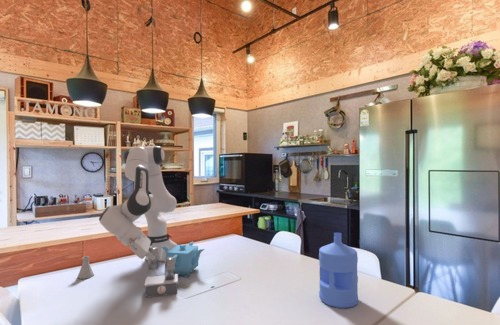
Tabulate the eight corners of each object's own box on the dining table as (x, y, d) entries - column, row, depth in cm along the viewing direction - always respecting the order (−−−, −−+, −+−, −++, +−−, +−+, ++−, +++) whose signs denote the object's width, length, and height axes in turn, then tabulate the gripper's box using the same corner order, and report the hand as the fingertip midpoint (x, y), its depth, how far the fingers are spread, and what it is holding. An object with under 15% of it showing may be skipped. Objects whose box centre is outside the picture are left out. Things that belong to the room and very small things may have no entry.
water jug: (328, 288, 130) (327, 227, 131) (363, 298, 120) (362, 232, 121) (312, 301, 118) (312, 234, 119) (350, 313, 108) (349, 240, 109)
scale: (177, 285, 134) (177, 273, 134) (178, 294, 126) (177, 281, 126) (146, 289, 131) (146, 277, 131) (144, 298, 122) (144, 285, 122)
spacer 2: (171, 275, 132) (171, 256, 132) (176, 278, 129) (176, 258, 129) (163, 278, 129) (162, 258, 129) (168, 281, 126) (167, 260, 126)
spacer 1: (155, 266, 130) (155, 246, 130) (160, 268, 127) (160, 248, 127) (146, 268, 127) (146, 248, 127) (151, 271, 124) (151, 250, 124)
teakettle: (171, 282, 138) (171, 252, 138) (160, 270, 154) (160, 243, 154) (207, 274, 149) (206, 246, 149) (193, 263, 164) (192, 238, 164)
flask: (74, 277, 145) (74, 258, 145) (88, 273, 151) (88, 254, 151) (83, 280, 141) (83, 260, 141) (96, 275, 148) (96, 256, 148)
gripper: (133, 236, 116) (158, 258, 118) (139, 226, 135) (160, 245, 138) (122, 248, 114) (147, 270, 117) (129, 236, 134) (151, 255, 137)
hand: (154, 256), depth 127 cm, fingers closed on spacer 1, 4 cm apart
